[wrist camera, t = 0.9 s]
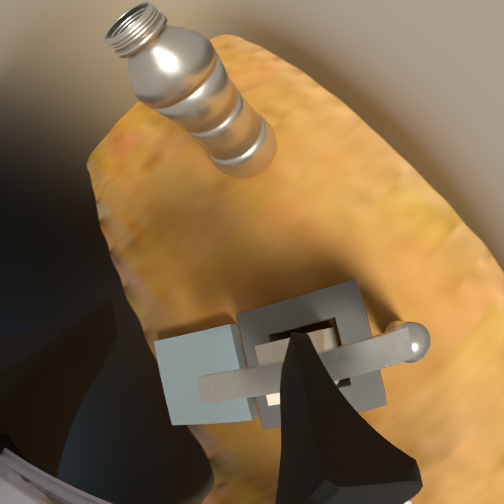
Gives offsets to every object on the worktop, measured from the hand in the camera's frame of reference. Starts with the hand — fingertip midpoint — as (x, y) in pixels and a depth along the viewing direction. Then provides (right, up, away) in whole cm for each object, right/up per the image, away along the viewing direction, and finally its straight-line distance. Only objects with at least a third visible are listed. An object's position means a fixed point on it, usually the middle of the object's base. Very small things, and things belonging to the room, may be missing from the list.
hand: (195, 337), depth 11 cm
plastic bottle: (+2, +13, +20) cm, 24 cm away
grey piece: (+9, -5, +12) cm, 16 cm away
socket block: (+8, -6, +13) cm, 16 cm away
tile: (-2, -9, +17) cm, 19 cm away
